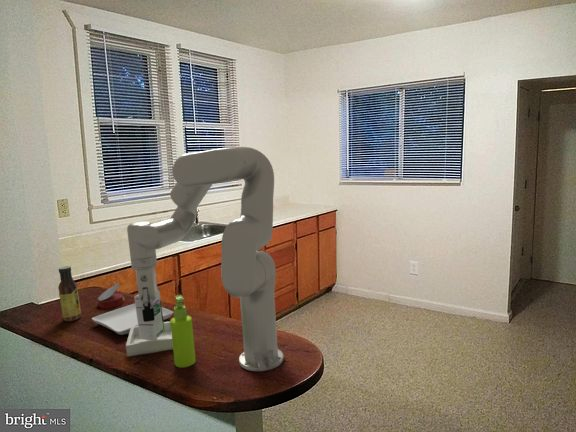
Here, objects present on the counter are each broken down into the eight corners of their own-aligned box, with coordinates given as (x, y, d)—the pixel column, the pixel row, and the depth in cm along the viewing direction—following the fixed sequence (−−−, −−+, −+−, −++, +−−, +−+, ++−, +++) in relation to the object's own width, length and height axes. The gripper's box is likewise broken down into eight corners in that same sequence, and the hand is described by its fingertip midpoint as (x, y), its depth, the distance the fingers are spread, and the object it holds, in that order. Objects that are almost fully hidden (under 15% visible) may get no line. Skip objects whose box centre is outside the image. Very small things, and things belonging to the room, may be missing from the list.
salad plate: (144, 307, 167) (143, 299, 166) (175, 319, 153) (174, 310, 152) (91, 326, 151) (89, 317, 151) (120, 342, 137) (118, 332, 137)
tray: (175, 348, 129) (174, 338, 129) (127, 356, 126) (125, 345, 126) (175, 330, 143) (174, 320, 142) (132, 336, 140) (131, 326, 139)
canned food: (118, 317, 169) (110, 301, 163) (96, 313, 172) (87, 297, 166) (132, 296, 178) (125, 279, 172) (112, 292, 180) (104, 276, 174)
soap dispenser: (177, 371, 116) (169, 302, 113) (173, 360, 123) (166, 294, 119) (198, 365, 119) (191, 298, 115) (193, 355, 125) (187, 290, 122)
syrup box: (156, 340, 131) (151, 296, 128) (139, 339, 132) (133, 295, 130) (165, 332, 136) (160, 289, 134) (148, 331, 137) (143, 289, 135)
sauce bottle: (82, 319, 157) (75, 267, 154) (64, 323, 154) (56, 271, 150) (80, 314, 162) (73, 264, 159) (62, 318, 159) (54, 267, 156)
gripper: (154, 267, 123) (161, 325, 126) (158, 253, 139) (163, 304, 142) (127, 270, 121) (134, 328, 124) (134, 256, 138) (140, 307, 140)
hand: (150, 315), depth 133 cm, fingers closed on syrup box, 7 cm apart
